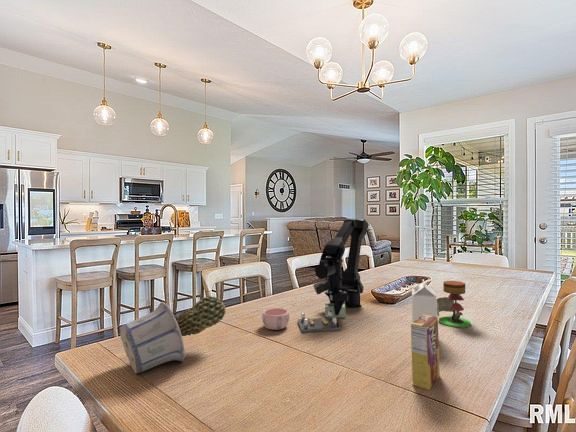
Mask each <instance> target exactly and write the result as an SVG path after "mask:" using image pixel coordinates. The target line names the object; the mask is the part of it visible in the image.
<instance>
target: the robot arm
mask: <svg viewBox="0 0 576 432" xmlns="http://www.w3.org/2000/svg"><path fill="white" fill-rule="evenodd" d="M368 229H369V223H368V221H367V220H366V219H364V218H363V219H361V218H360V219H358V218H357V219H356V218H345V219H344V220H343V224H342V225H341V226H340V228H339V230H338V231H337V233H336V234H335V237H334V238H332V239H330V240H329V241H327V243H326V244H325V246H324V247H323V249H322V253H321V256H320V259H319V262H318V264H317V265H316V266H315V269H314V272H315V275H316V277H317V278H318V279H320V280H322V281H319V282H317V283H314V284H313V289H314V292H315V293H316V295H321V294H322V293H324V294H325V295H326V296H327V298H328V300H329V303H333V305H334V311H335V315H338V314H339V312H340V310H341V308H342V305H343V304H345V307H346V308H361V307H362V306H363V305H362V304H361V294H363V293H364V285H363V284H362V282H361V275H360V273H359V268H358V267H359V264H360V263H359V262H360V255H361V249H362V248H361V247H362V240H363V239H364V238H365V236H366V235H367V232H368ZM349 238H350V242H349V249H348V250H349V251H348V256H347V257H348V258H347V262H346V263H347V264H346V268H345V270H342V263H343V262H344V260H343V257H344V255H345V251H346V248H345V245H346V243H347V242H348V240H349Z"/></svg>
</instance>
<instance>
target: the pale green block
mask: <svg viewBox="0 0 576 432" xmlns="http://www.w3.org/2000/svg"><path fill="white" fill-rule="evenodd" d="M328 311H332V317H336V318H346V305H345V304H343V305H342V308H341V310H340V312H339V314H338V315H335V311H334V305H333V303H330V302H329V303H324V318H328Z"/></svg>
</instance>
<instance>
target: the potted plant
mask: <svg viewBox="0 0 576 432" xmlns="http://www.w3.org/2000/svg"><path fill="white" fill-rule="evenodd" d="M225 306H226V305H225V304H224V302H223V301H222V300H221V298H218V297H216V296H206V297H201V299H200V300H199V301H197V302H196V303H195V304H194V306H192V307H190V308H189V309H185V310H184V311H182V313H181V314H180V315H179V316H178V315H177V316H174V312H173V311H172V309H171V308H170V306H169V305H168V304H167V303H165V302H164V301H161V302H160V303H159V304H158V305H157V307H156V308H155V309H154V310H153V311H151V312H150V313H148V314H146V315H144V316H141V317H139V318H137V319H134V320H132V321H129V322H127V323H125V324H122V326H120V328H119V329H120V333H119V335H120V340H121V342H122V345H123V348H124V352H125V354H126V357H127V358H128V361H129V363H130V365H131V369H132V371H133V370H134V371H133V372H134V374H137V373H138V374H140V373H143V372H145V371H148V370H150V369H152V368H155V367H157V366H159V365H162V364H164V363H167V362H172V361H178V362H181V363H183V362H184V361H185V357H186V349H185V345H184V340H183V337H186V336H191V335H195V336H196V335H197V334H200V333H202V332H204V331H205V330H206V329H208V328H211V327H213V326H215V325H217V324H218V323H219V322H220V321H222V320H223V318H224V317H225V315H226V314H227V313H226V307H225Z"/></svg>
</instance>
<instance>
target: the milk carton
mask: <svg viewBox="0 0 576 432" xmlns="http://www.w3.org/2000/svg"><path fill="white" fill-rule="evenodd" d="M422 315H428V316H434V317H438V316H437V295H436V291H434V290H433V289H432V288H431V287H430V286H429V285H427V284H426V283H425V280H424V279H422V282H421V283H420V284H418V283H417V284H414V285H413V286H412V290H411V318H412V319H411V324H412V323H413V322H414V321H416V320H417V319H418V318H419V317H420V316H422Z"/></svg>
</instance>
